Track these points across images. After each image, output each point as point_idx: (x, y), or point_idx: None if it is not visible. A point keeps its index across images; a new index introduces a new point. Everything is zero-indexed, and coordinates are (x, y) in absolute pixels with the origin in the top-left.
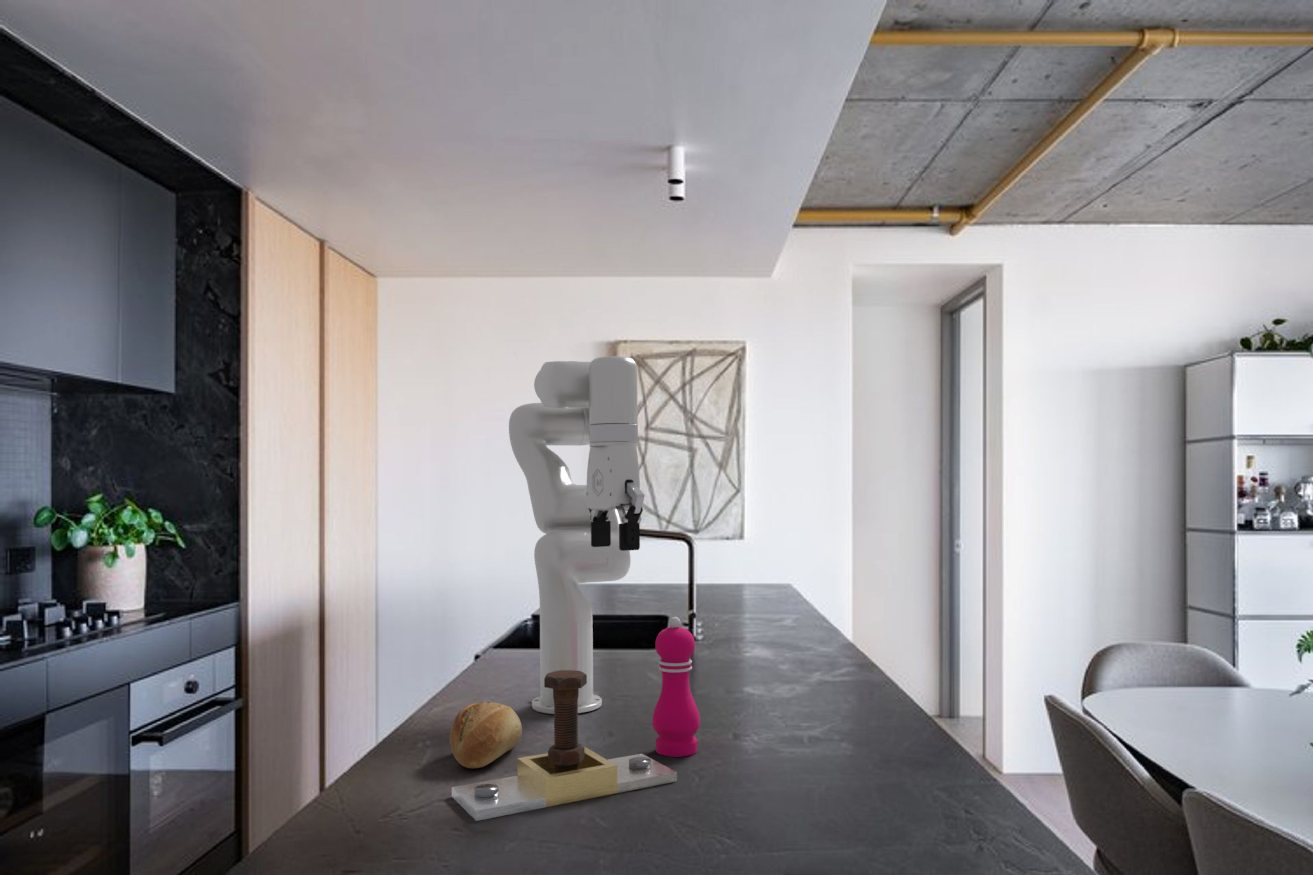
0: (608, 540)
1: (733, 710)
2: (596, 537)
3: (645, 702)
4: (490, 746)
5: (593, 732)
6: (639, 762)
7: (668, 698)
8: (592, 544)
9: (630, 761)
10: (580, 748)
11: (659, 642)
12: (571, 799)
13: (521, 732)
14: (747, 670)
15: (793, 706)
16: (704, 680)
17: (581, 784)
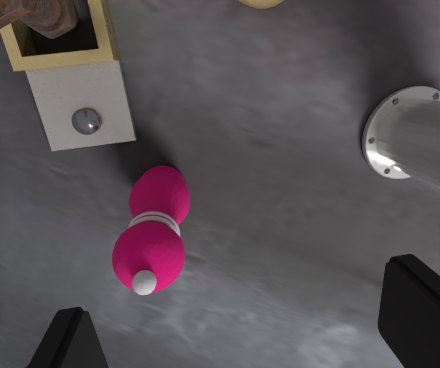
0: (392, 342)
1: (280, 289)
2: (416, 303)
3: (363, 223)
4: None
5: (276, 126)
6: (76, 118)
7: (142, 200)
8: (400, 259)
9: (83, 109)
10: (27, 24)
11: (137, 231)
12: None
13: (242, 2)
14: None
15: (264, 339)
16: None
17: None
